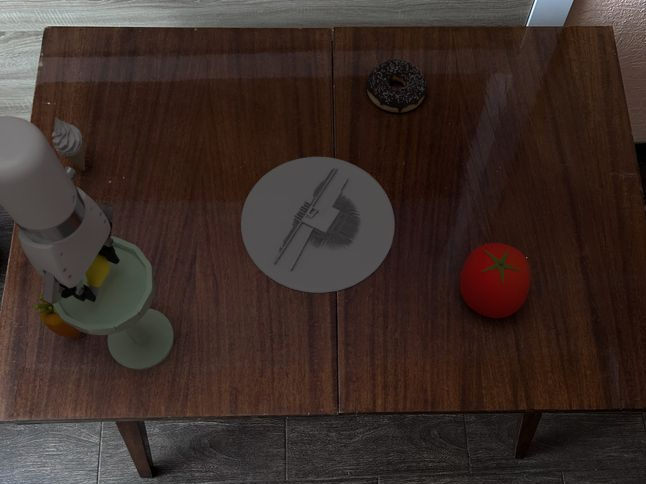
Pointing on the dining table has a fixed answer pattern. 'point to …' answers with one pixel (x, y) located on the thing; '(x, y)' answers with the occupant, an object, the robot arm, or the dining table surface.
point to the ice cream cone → (69, 143)
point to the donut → (396, 97)
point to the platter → (114, 295)
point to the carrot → (55, 320)
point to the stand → (143, 342)
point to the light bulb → (97, 273)
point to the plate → (317, 224)
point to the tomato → (495, 280)
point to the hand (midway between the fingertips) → (97, 276)
